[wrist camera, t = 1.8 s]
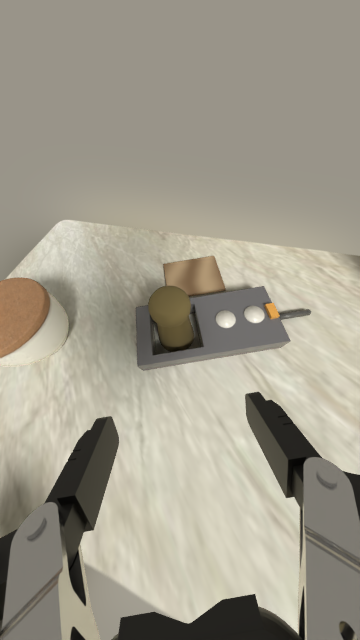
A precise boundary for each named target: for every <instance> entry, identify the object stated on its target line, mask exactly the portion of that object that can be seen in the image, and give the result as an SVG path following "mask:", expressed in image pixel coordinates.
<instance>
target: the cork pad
mask: <svg viewBox="0 0 360 640" xmlns="http://www.w3.org/2000/svg"><path fill="white" fill-rule="evenodd" d="M163 265H164V272H165V279H166V286H176V287H178V288H181V289H182V290H183V291H185V292H186V294H187V295H188V297H190V296H196V295H202V294H208V293H214V292H220V291H225V286H224V283H223V280H222V277H221V274H220V271H219V269H218V266H217V263H216V260H215V257H214V256H210V257H204V258H198V259H191V260H185V261H179V262H173V263H167V264H163Z"/></svg>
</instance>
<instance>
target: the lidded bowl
mask: <svg viewBox="0 0 360 640" xmlns="http://www.w3.org/2000/svg"><path fill="white" fill-rule="evenodd" d="M68 330H69V321H68V316H67V314H66V311H65V310H64V308H63V307H62V305H61V304H60V303H59V302H58V301H57V300H56V299H55V298H54V297H53V296H52V295H51V294H50V293H49V292H47V291H46V289H45V288H44V287H43V286H41V285H40V284H39V283H38V282H36V281H34V280H32V279H28V278H10V279H6V280H2V281H0V366H23V365H29V364H33V363H36V362H39V361H41V360H43V359H45V358H47V357H49V356H50V355H52V354H54V353H56V352H57V351H58V350H59V349H60V348H61V347H62V346H63V345H64V343H65V341H66V339H67V336H68Z"/></svg>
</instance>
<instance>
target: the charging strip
mask: <svg viewBox="0 0 360 640" xmlns="http://www.w3.org/2000/svg"><path fill="white" fill-rule="evenodd" d="M189 299H190V303H191V310H190V313H194V314H195V318H196V323H197V327H198V332H199V337H200V341H201V346H202V347H201V348H195V349H189V350H183V351H177V352H171V353H164V354H158V355H156V349H155V337H154V325H153V319H152V317H151V315H150V313H149V309H148V305H146V306H140V307H136V328H137V364H138V367H139V368H141V369H142V370H149V369H155V368H161V367H167V366H173V365H179V364H185V363H191V362H197V361H203V360H209V359H215V358H221V357H227V356H233V355H239V354H245V353H251V352H257V351H263V350H269V349H275V348H281V347H282V346H284V345H285V344H287V343H288V342H290V339H289V337H288V334H287V332H286V330H285V328H284V326H283V324H282V322H281V320H282V319H288V318H294V317H300V316H306V315H310V314H311V311H310V310H309V309H306V310H300V311H294V312H288V313H282V314H279V313H278V311H277V309H276V307H275V305H274V303H272V302H271V300H270V298H269V296H268V294H267V292H266V290H265V288H264V286H262V287H255V288H249V289H243V290H237V291H231V292H225V293H219V294H213V295H207V296H201V297H195V298H189Z"/></svg>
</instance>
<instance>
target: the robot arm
mask: <svg viewBox="0 0 360 640" xmlns="http://www.w3.org/2000/svg"><path fill="white" fill-rule="evenodd" d="M245 399H246V416H247V420H248V423H249V425H250V427H251V429H252V431H253V433H254V435H255V437H256V439H257V441H258V443H259V445H260V447H261V449H262V451H263V453H264V455H265V457H266V459H267V461H268V463H269V465H270V467H271V469H272V471H273V473H274V475H275V477H276V479H277V481H278V483H279V485H280V487H281V489H282V491H283V493H284V495H285V497H286V498H290V497H295V499H296V501H297V503H298V505H299V506H300V534H299V590H298V634H297V633H296V631H294V630H293V629H292V628H291V627H290V626H289V625H288V624H287V623H286V622H285V621H283V620H282V619H281V618H279V617H278V616H277V615H275V614H274V613H272V612H270V611H268V610H266V609H264V608H261V607H258V604H257V600H256V596H255V594H253V595H247V596H241V597H236V598H230V599H224V600H221V601H220V602H219V603H217V604H216V605H215V606H213V607H212V608H211V609H209V610H208V611H207V612H205V613H204V614H203V615H201V616H200V617H199V618H197V619H196V620H195V621H193V622H192V623H189V624H187V623H183V622H180V621H178V620H175V619H172V618H169V617H166V616H164V615H161V614H158V613H156V612H151V613H145V614H139V615H134V616H128V617H122V618H121V620H120V628H119V633H118V634H117V635H116V636H115V637H114V638H113V639H112V640H360V475H357V474H351V473H347V472H344V471H342V470H340V469H339V468H338V467H337V466H336V465H334V464H333V463H331V462H329V461H327V460H325V459H323V458H322V457H321V456H320V455H319V454H318V453H317V451H316V450H315V449H314V448H313V446H312V445H311V444H310V443H309V441H308V440H307V439H306V438H305V436H304V435H303V434H302V433H301V431H300V430H299V429H298V428H297V426H296V425H295V424H294V423H293V421H292V420H291V419H290V418H289V417H288V416H287V414H286V413H285V411H284V410H283V409H282V408H281V406H279V405H278V404H276V403H275V402H273V401H272V400H268V401H266V400H265V399H264V397H263V396H262V395H261V393H260V392H254V393H248V394H246V395H245ZM118 445H119V437H118V433H117V430H116V427H115V424H114V422H113V419H112V417H111V416H109V417H103V418H98V419H96V420H95V422H94V424H93V426H92V428H91V430H87V431H86V432H85V433H84V435H83V436H82V437H81V438H80V439H79V440H78V442H77V444H76V446H75V448H74V450H73V453H71V455H70V457H69V459H68V462H67V463H66V464H65V466H64V468H63V470H62V472H61V474H60V476H59V477H58V479H57V481H56V483H55V485H54V487H53V489H52V490H51V492H50V494H49V496H48V498H47V500H46V501H45V503H44V504H43V505H41V506H39V507H38V508H36V509H35V510H34V511H33V512H32V513H31V514H30V515H29V516H28V517H27V518H26V519H25V520H24V521H23V523H22V524H21V525H20V527H19V528H18V529H17V530H15V531H13V532H11V533H10V534H8V535H6V536H4V537H2V538H0V640H100V636H99V632H98V628H97V625H96V622H95V619H94V616H93V613H92V609H91V604H90V598H89V592H88V587H87V580H86V574H85V569H84V562H83V556H82V550H81V546H80V542H81V539H82V536H83V533H84V532H85V531H91V530H94V527H95V524H96V520H97V517H98V514H99V510H100V507H101V503H102V500H103V497H104V493H105V490H106V486H107V483H108V480H109V476H110V473H111V470H112V466H113V463H114V459H115V456H116V453H117V449H118Z"/></svg>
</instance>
